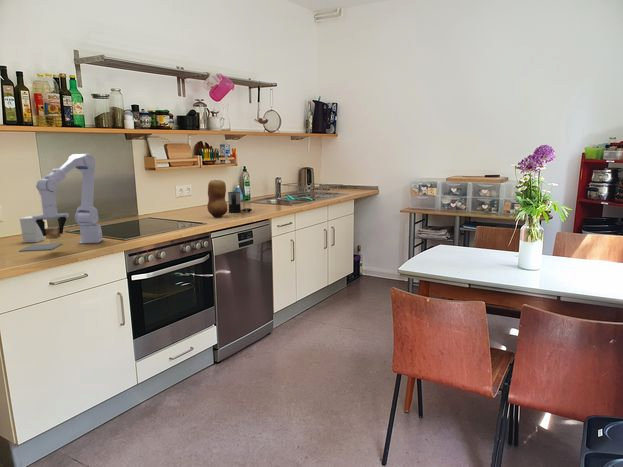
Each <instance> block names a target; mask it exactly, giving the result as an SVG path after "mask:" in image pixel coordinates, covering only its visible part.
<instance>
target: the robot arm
mask: <svg viewBox="0 0 623 467" xmlns="http://www.w3.org/2000/svg"><path fill="white" fill-rule="evenodd" d="M74 168H76V170H77V171H79V172H81V174H82V181H81V182H82V183H81V184H82V185H81V199H80V201H81V202H80V205H79V206H78V207H77V208H76V212H75V215H74V221H75V222H76V223H77V224H78V226H79V232H80V241H79V242H78V244H81V245H82V244H99V243H100V242H102V241H103V232H102V227H101V224H97V223H98V222H99V213H98V209H97V208H96V207H95V206H94V196H95V192H94V191H95V179H96V178H95V176H96V175H95V174H96V170H95V168H96V158H95V157H94V156H93V155H92V154H91V153H72V154H71V155H70V156H68V159H67V160H66V162H64V163H63V164H62V165H61V166H60V167H59V168H53V169H51V172H50V173H48V174H46V175H45V176H44V178H39V179H38V180H37V182H36V185H35V187H36V190H37V191H38V193H39V196H40V199H41V200H40V201H41V209H42V214H40V215H34V216H33V215H32V221H36V223H37V224H38V226H39V227H40V229H41V231H42V234H43V236H44V237H46V232H45V229H46V226H45V224H46V223H45V220H54V219H57V223H58V227H59V228H60V235H62V234H63V233H64V228H65V225H66V223H67V219H68V218H69V216H70V214H69V213H68V212H64V213H63V212H61V213H58V207H57V206H58V205H57V197H56V191H57V190H58V186H59V184H61V182H63V181H64V180H65V179H66V177H67V176H66V175H67V174H68V173H69V172H71V171H73V169H74Z"/></svg>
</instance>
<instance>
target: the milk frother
mask: <svg viewBox="0 0 623 467" xmlns="http://www.w3.org/2000/svg"><path fill="white" fill-rule="evenodd" d="M240 193H241V191H228V192H227V198H228V199H227V202H228V213H229V214H238V213H242V212H244V213H246V212H247V213H251V212H252V211H253V209H252V208H243V209H242V207H241V194H240Z"/></svg>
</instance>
